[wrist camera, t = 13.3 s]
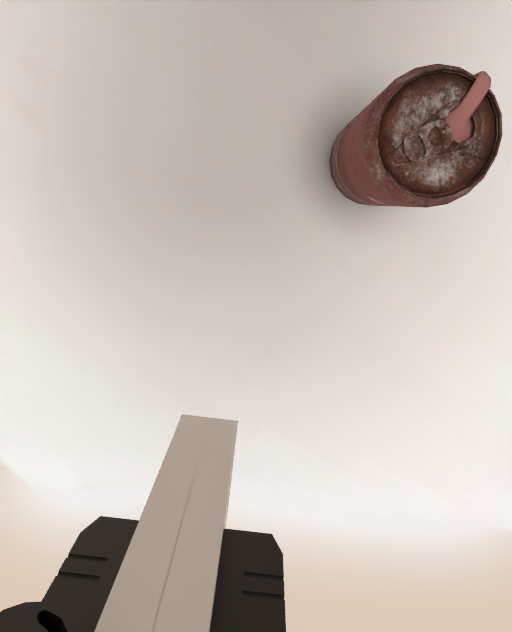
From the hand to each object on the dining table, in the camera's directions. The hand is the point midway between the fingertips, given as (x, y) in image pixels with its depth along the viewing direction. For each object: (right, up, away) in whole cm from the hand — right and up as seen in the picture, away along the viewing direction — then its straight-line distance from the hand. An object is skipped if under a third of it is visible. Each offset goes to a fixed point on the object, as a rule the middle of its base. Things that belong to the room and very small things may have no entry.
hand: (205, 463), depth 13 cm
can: (+10, +15, +21) cm, 28 cm away
